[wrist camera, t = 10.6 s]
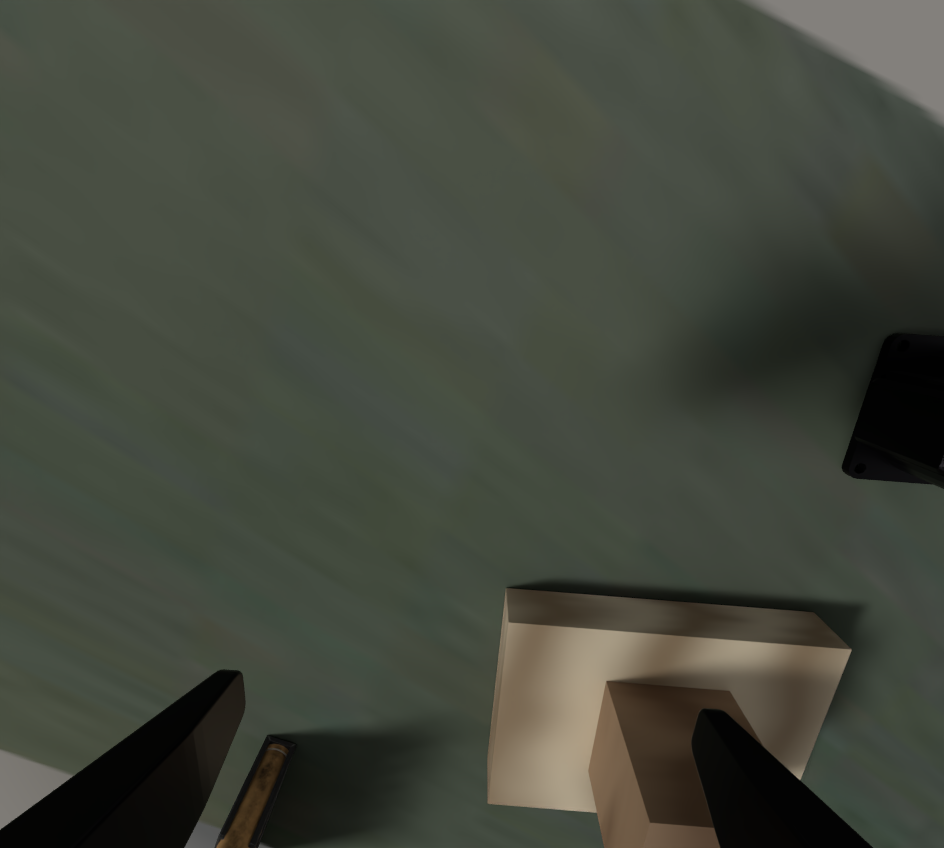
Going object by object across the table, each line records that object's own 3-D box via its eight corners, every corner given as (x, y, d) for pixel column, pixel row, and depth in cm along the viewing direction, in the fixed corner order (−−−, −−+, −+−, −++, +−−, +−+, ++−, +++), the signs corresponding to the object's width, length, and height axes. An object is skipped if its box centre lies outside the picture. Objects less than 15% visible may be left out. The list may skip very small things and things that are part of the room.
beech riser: (813, 612, 23) (851, 649, 21) (754, 779, 27) (781, 827, 24) (506, 588, 23) (508, 622, 21) (487, 757, 27) (487, 803, 24)
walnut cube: (729, 690, 22) (818, 836, 16) (702, 780, 23) (773, 940, 18) (606, 680, 22) (649, 822, 16) (587, 770, 23) (621, 927, 18)
